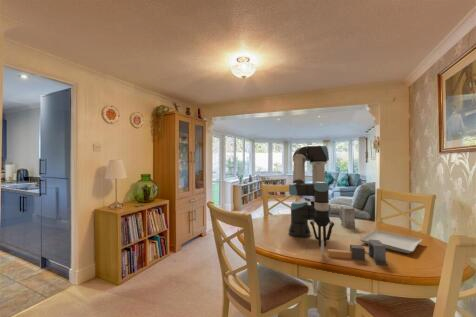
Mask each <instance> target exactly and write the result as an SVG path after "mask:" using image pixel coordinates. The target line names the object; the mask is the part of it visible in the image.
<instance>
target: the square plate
mask: <svg viewBox="0 0 476 317" xmlns="http://www.w3.org/2000/svg"><path fill="white" fill-rule="evenodd" d="M369 240H379V241H380V242H381V243H382V244H383V245H385V246H386V250H391V251H394V252H400V253H404V254H411V253H413V252H414V251H415V250H416V248H417V247H418V245H419V244H420V243H421V242H423V239H422V238H418V237H413V236H408V235H404V234H399V233H395V232H388V231H383V230H375V229H373V230H372V231H370V232H368V233H367V234H365V235H364V236H362V237H361V238H360V239H359V241H361V242H362V243H364V244H366V245H369Z"/></svg>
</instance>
